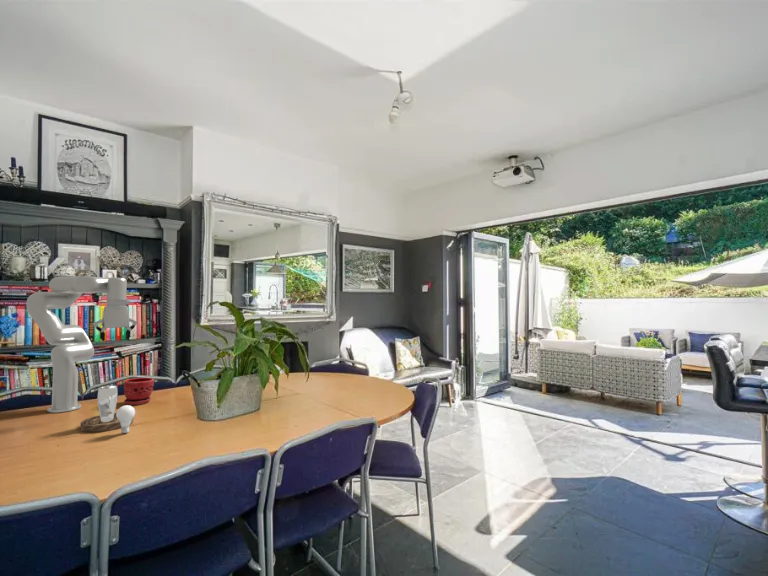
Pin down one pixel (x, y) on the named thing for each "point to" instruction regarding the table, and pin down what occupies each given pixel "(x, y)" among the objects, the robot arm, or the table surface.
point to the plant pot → (138, 390)
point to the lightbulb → (125, 417)
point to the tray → (99, 425)
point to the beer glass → (107, 403)
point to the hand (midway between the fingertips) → (115, 340)
